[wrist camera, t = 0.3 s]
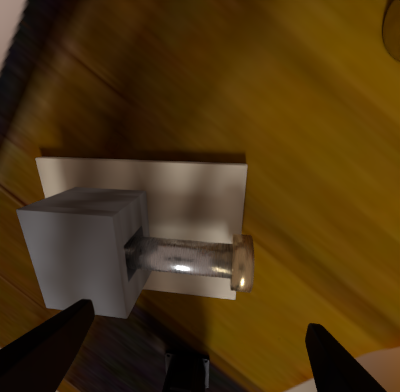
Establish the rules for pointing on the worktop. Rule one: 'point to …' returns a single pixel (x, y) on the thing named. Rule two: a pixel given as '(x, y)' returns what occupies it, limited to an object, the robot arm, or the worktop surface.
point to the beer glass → (392, 29)
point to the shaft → (195, 258)
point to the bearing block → (126, 226)
